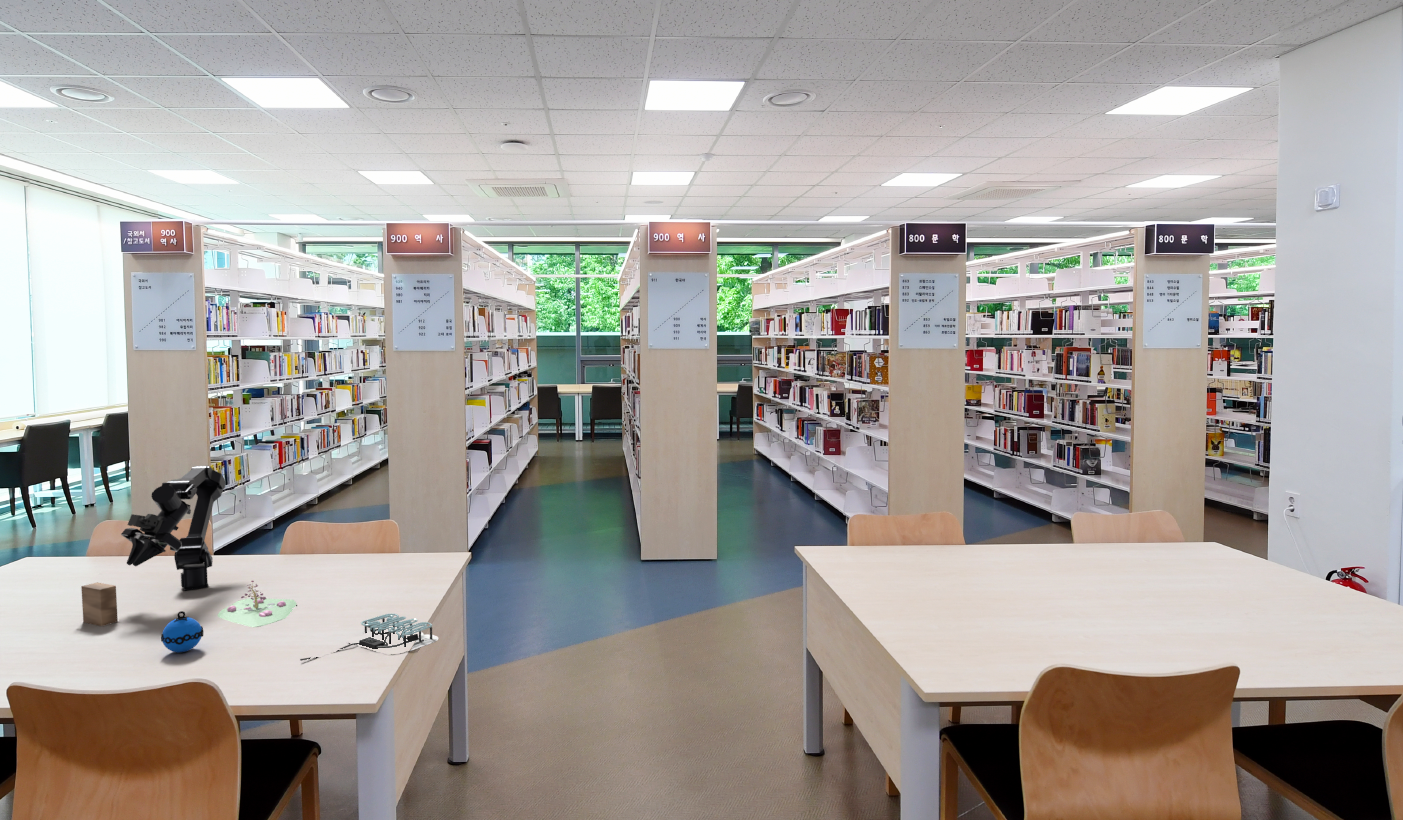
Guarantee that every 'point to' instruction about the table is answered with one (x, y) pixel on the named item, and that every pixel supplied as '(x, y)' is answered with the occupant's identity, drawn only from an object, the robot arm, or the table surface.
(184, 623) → the ornament
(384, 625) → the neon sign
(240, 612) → the plant
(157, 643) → the table surface
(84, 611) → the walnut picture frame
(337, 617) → the table surface
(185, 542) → the robot arm
